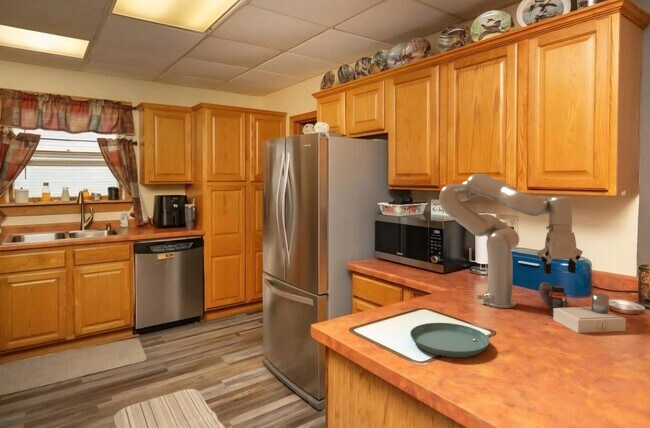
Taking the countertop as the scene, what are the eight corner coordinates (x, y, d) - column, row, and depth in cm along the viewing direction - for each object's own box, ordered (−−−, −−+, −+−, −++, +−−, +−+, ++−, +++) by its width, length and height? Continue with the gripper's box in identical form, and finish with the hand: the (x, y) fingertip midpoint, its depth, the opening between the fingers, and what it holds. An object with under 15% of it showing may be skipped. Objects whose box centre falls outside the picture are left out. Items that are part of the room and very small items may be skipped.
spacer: (598, 314, 136) (598, 297, 136) (588, 309, 141) (588, 293, 141) (612, 313, 136) (612, 296, 136) (601, 308, 141) (601, 292, 141)
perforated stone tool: (557, 307, 159) (558, 290, 158) (543, 306, 161) (543, 289, 160) (551, 297, 173) (551, 282, 172) (537, 296, 175) (538, 281, 174)
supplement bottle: (568, 317, 147) (569, 288, 146) (551, 316, 148) (552, 287, 147) (562, 312, 152) (563, 284, 152) (546, 311, 154) (546, 283, 153)
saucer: (501, 344, 125) (501, 334, 124) (468, 370, 108) (468, 359, 107) (433, 325, 142) (433, 316, 141) (395, 346, 125) (395, 336, 124)
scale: (578, 333, 132) (579, 319, 131) (553, 319, 145) (553, 307, 144) (626, 331, 133) (626, 317, 132) (596, 317, 146) (597, 305, 145)
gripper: (544, 230, 143) (544, 276, 144) (589, 229, 144) (588, 274, 145) (532, 228, 151) (532, 271, 152) (574, 227, 152) (574, 270, 153)
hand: (559, 272), depth 149 cm, fingers open, 9 cm apart
